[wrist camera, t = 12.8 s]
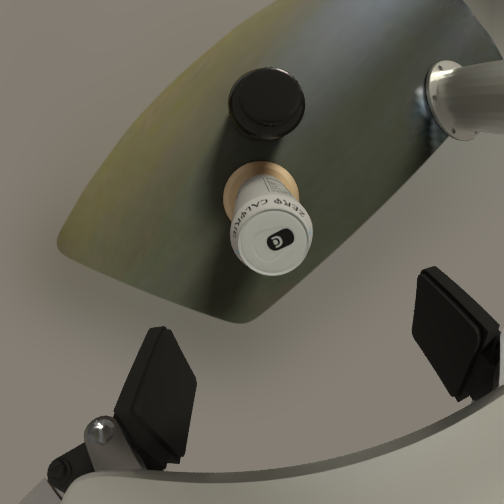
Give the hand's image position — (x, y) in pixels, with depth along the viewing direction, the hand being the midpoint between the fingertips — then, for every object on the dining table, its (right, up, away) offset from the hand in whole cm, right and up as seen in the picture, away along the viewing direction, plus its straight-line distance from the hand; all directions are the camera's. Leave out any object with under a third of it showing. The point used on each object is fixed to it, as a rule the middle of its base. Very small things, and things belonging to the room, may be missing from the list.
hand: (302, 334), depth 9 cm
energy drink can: (-1, +9, +23) cm, 25 cm away
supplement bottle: (-1, +19, +20) cm, 27 cm away
